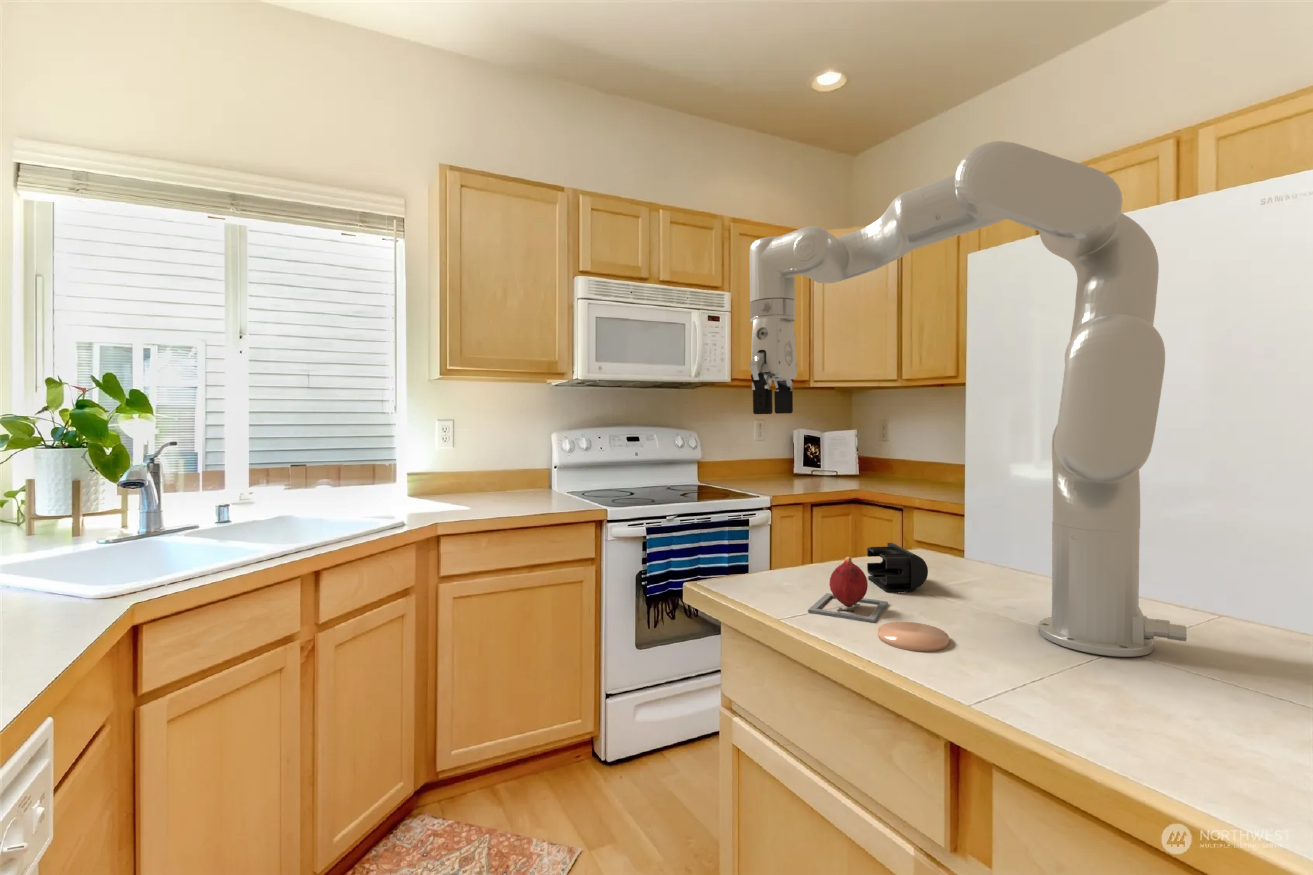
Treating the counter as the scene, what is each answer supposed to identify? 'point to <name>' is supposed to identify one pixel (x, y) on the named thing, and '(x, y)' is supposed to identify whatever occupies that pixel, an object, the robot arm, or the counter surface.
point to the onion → (848, 583)
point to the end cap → (896, 569)
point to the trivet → (913, 636)
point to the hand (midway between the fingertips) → (773, 413)
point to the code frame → (871, 618)
